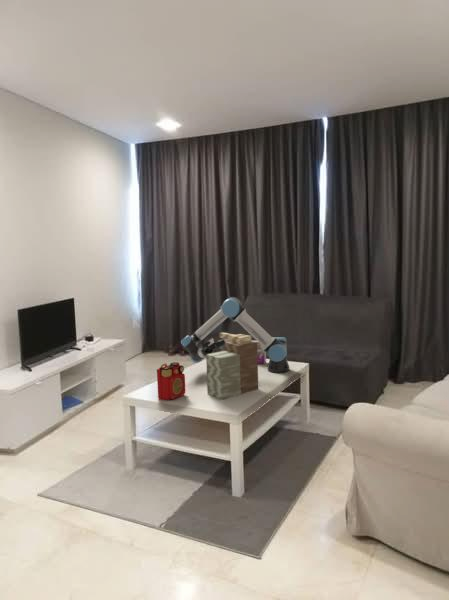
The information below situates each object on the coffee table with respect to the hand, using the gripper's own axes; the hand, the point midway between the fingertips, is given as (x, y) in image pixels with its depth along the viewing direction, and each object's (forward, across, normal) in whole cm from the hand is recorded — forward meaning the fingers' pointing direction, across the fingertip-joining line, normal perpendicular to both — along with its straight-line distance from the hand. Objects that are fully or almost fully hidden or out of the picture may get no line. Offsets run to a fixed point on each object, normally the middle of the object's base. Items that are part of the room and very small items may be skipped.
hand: (221, 338), depth 289 cm
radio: (-14, +38, -25) cm, 48 cm away
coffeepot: (-55, -39, -2) cm, 68 cm away
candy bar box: (-34, -50, -14) cm, 62 cm away
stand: (+1, +6, -34) cm, 35 cm away
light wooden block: (+10, -1, -5) cm, 11 cm away
